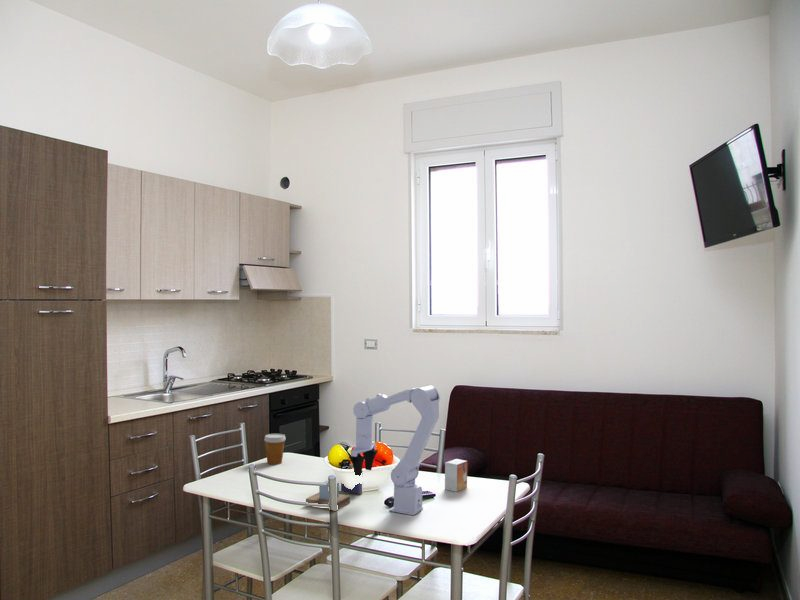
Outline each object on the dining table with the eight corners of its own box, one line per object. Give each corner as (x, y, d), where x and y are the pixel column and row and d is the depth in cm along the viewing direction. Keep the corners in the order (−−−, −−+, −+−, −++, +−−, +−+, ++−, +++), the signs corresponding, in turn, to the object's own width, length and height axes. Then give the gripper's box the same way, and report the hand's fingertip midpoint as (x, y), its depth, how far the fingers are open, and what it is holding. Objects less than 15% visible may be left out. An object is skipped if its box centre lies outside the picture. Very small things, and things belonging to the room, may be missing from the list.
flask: (363, 493, 230) (363, 464, 230) (358, 495, 228) (359, 466, 228) (343, 489, 235) (343, 461, 235) (338, 491, 233) (339, 463, 233)
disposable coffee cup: (285, 465, 268) (285, 437, 268) (262, 465, 266) (263, 438, 267) (286, 459, 277) (286, 433, 277) (264, 460, 276) (264, 433, 276)
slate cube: (338, 496, 218) (339, 482, 218) (331, 500, 214) (331, 486, 214) (326, 494, 220) (327, 480, 220) (319, 498, 216) (319, 484, 216)
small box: (456, 492, 234) (457, 464, 234) (444, 489, 237) (444, 462, 237) (467, 487, 240) (467, 460, 240) (455, 484, 244) (455, 458, 244)
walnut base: (349, 503, 219) (350, 496, 219) (335, 511, 210) (335, 504, 210) (321, 497, 224) (321, 491, 224) (305, 505, 215) (305, 498, 215)
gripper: (364, 429, 230) (363, 466, 230) (343, 437, 217) (343, 475, 217) (380, 431, 227) (380, 468, 227) (361, 439, 214) (360, 478, 214)
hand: (363, 472), depth 221 cm, fingers open, 7 cm apart
